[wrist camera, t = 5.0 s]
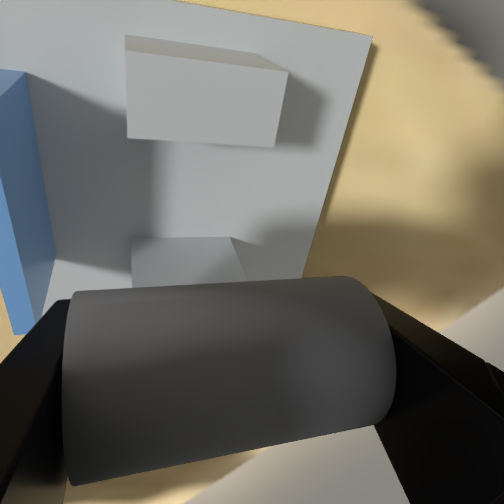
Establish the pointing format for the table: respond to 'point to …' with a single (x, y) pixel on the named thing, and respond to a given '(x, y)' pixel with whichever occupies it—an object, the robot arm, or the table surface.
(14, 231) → the white base plate
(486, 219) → the table surface
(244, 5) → the table surface
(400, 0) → the table surface
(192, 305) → the dark gray cylinder
